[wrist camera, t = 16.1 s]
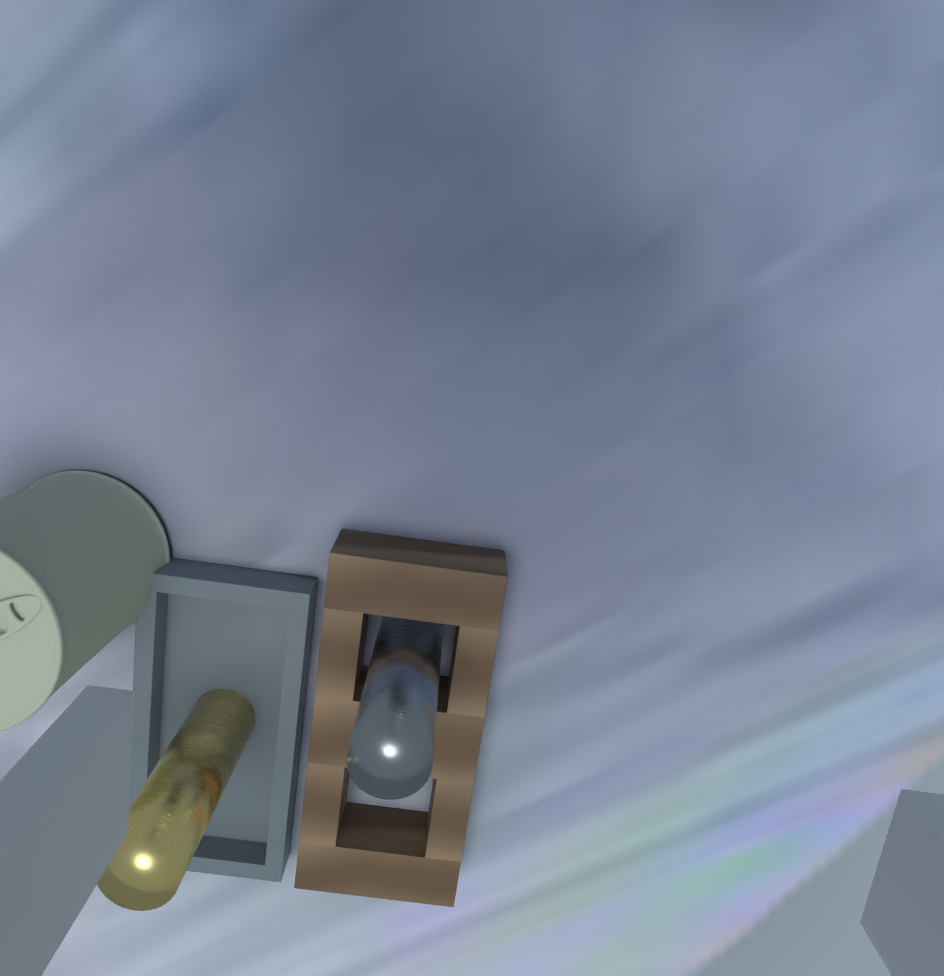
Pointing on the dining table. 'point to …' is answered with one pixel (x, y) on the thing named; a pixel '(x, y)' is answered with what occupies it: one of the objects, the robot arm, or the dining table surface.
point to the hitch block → (459, 720)
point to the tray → (238, 667)
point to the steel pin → (397, 710)
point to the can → (68, 580)
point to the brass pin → (178, 802)
